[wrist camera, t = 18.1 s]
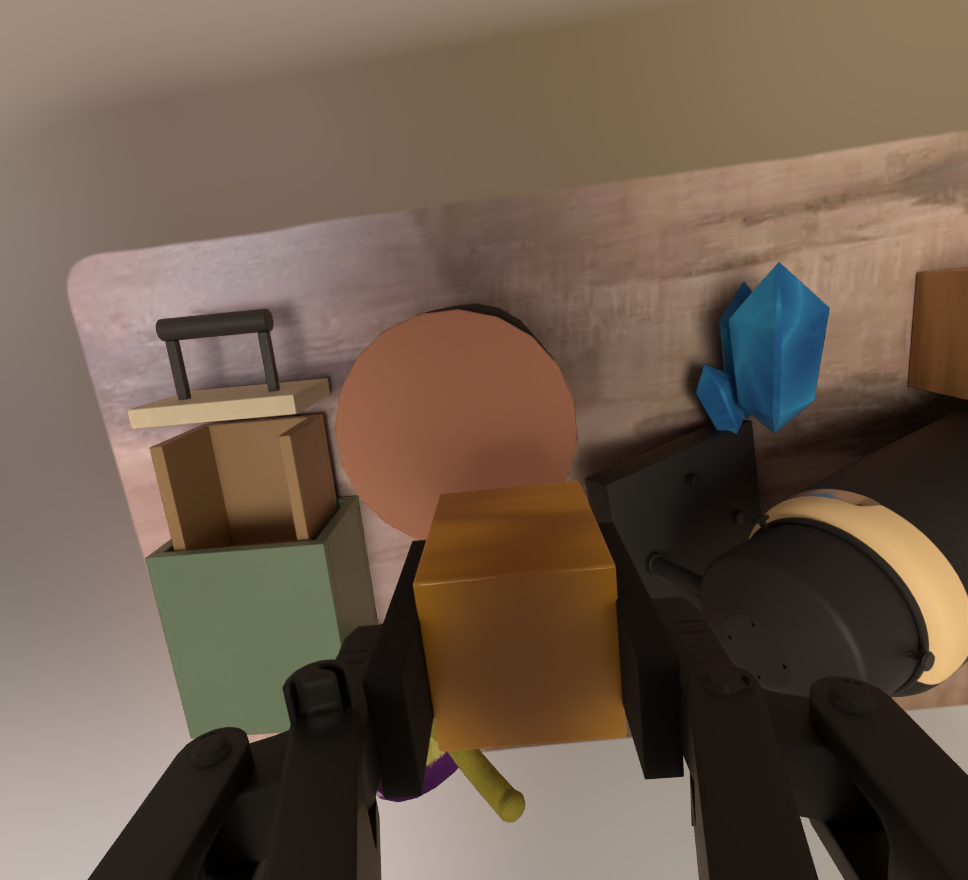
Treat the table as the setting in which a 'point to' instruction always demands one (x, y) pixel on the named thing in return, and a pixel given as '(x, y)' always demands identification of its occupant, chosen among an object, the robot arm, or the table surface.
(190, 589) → the cabinet
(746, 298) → the crystal
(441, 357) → the coffee jar
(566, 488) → the block
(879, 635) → the light fixture
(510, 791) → the decorative mushroom
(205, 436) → the drawer
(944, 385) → the stand
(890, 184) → the table surface
